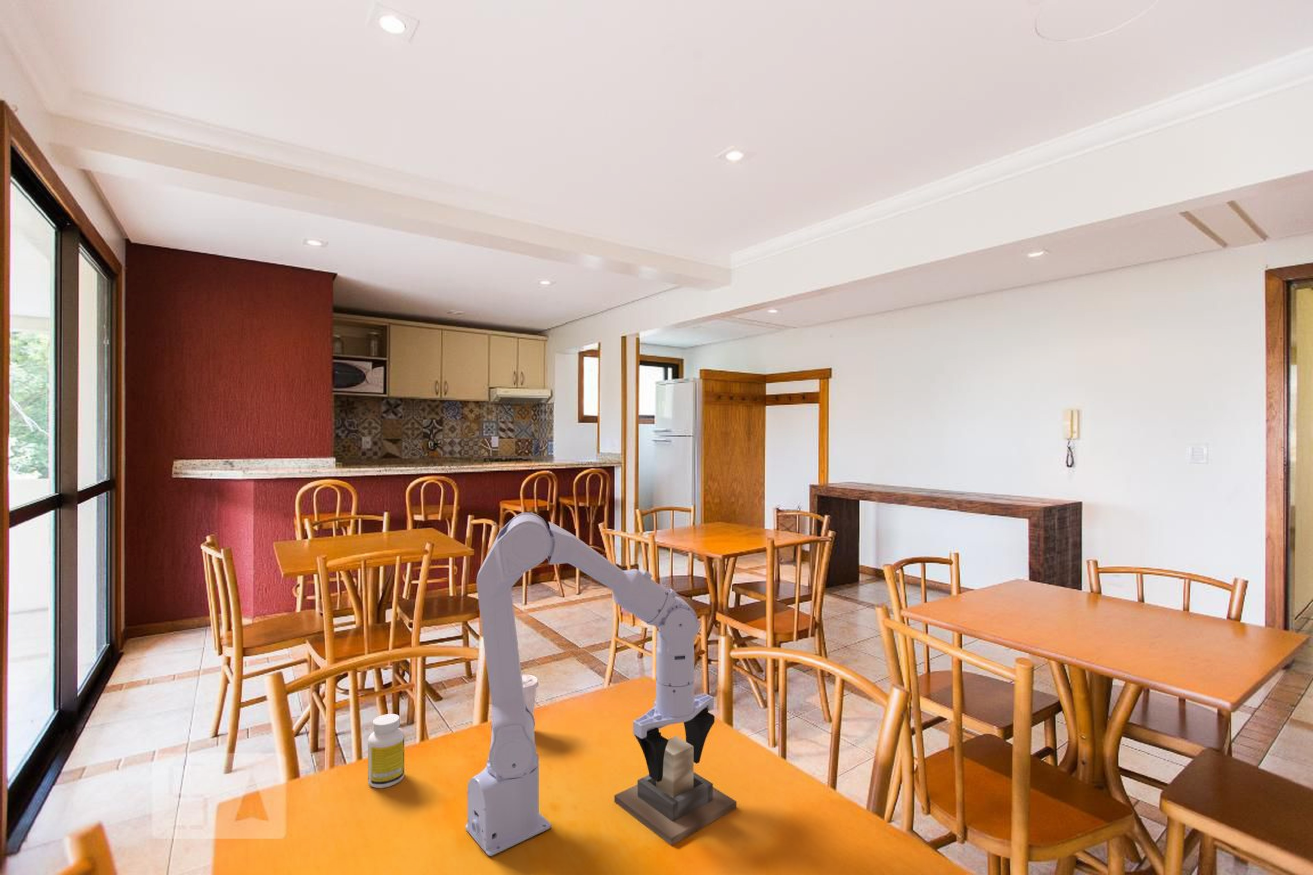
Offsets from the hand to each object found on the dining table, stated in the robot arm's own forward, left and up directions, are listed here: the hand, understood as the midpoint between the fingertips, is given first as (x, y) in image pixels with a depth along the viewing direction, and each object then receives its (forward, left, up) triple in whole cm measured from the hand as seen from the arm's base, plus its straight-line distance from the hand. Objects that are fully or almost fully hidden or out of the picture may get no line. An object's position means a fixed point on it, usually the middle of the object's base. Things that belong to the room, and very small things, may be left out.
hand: (675, 769), depth 94 cm
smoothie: (-7, +35, -6) cm, 36 cm away
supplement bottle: (-31, +35, -6) cm, 47 cm away
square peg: (0, 0, -4) cm, 4 cm away
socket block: (0, 0, -5) cm, 5 cm away
